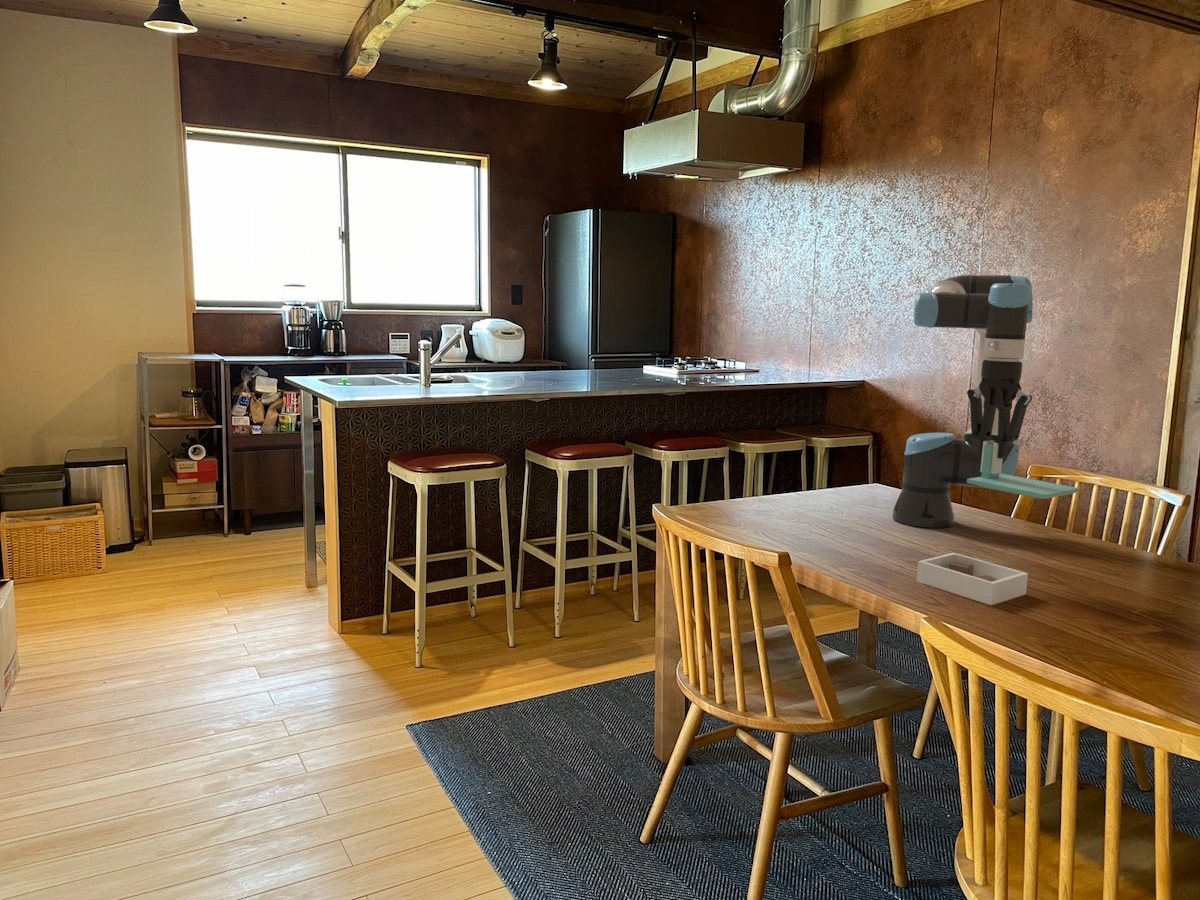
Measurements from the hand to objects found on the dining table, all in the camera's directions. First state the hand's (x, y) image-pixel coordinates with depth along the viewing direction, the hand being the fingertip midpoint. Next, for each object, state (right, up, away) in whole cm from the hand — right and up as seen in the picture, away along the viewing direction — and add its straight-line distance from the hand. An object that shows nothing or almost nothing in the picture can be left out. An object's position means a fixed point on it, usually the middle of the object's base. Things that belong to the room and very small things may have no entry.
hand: (990, 472), depth 181 cm
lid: (+4, -3, -5) cm, 7 cm away
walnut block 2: (-8, -23, -15) cm, 29 cm away
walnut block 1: (-9, -22, -6) cm, 25 cm away
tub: (-9, -23, -10) cm, 27 cm away
